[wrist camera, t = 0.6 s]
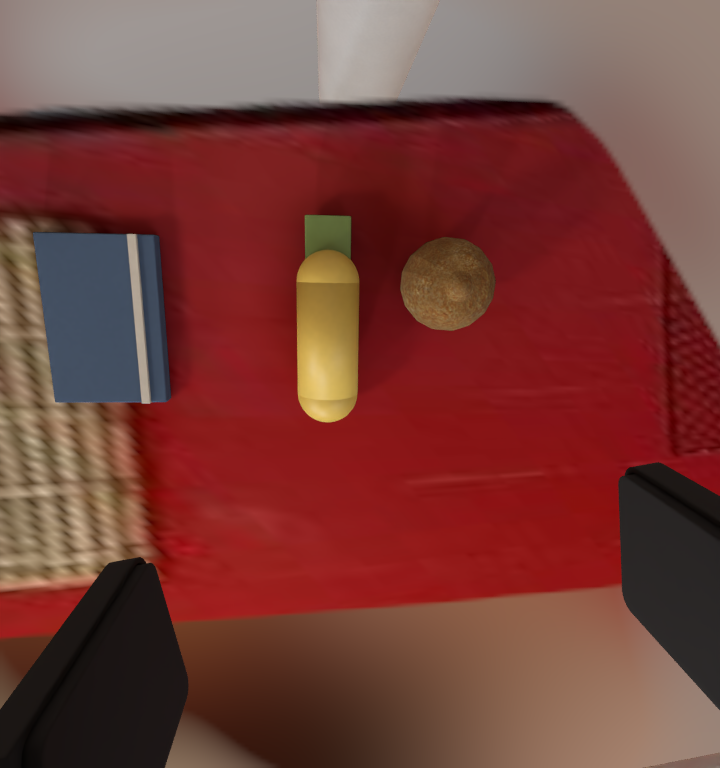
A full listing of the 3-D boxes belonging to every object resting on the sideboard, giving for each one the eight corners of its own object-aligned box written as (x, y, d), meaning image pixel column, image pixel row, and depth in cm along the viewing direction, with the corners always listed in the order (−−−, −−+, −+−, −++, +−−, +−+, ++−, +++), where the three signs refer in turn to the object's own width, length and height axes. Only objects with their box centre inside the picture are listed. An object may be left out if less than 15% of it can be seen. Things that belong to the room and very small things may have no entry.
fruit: (396, 328, 37) (415, 344, 30) (389, 244, 36) (407, 238, 28) (475, 319, 38) (515, 332, 30) (471, 236, 36) (512, 227, 29)
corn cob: (297, 217, 35) (293, 210, 31) (358, 218, 35) (362, 211, 31) (299, 412, 38) (296, 430, 34) (355, 412, 39) (359, 430, 34)
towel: (42, 233, 34) (29, 231, 33) (159, 235, 35) (152, 234, 33) (63, 398, 37) (52, 403, 35) (171, 398, 37) (165, 403, 36)
